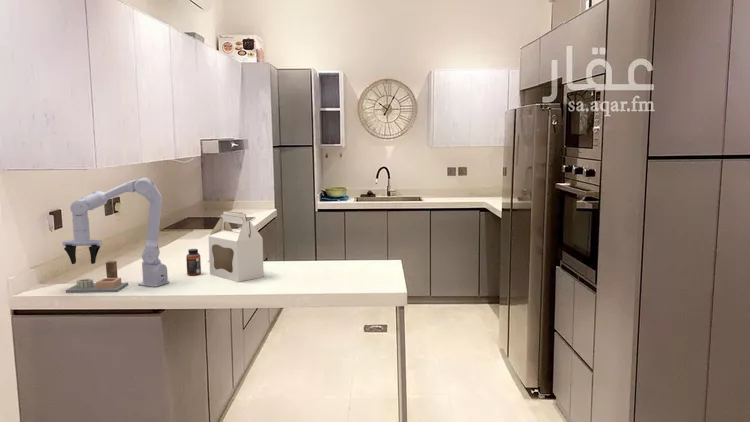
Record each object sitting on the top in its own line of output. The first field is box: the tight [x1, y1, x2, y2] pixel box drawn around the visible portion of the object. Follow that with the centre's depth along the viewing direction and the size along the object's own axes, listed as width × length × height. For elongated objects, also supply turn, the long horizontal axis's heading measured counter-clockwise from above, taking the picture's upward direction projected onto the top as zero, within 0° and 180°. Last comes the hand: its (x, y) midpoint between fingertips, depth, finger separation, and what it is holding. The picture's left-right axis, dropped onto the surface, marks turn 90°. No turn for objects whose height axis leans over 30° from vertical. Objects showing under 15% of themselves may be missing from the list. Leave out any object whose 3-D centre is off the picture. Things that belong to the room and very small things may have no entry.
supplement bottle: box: [185, 248, 202, 277], centre depth 253 cm, size 6×6×11 cm
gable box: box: [208, 210, 265, 283], centre depth 249 cm, size 22×13×28 cm, turn 48°
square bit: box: [105, 260, 119, 278], centre depth 243 cm, size 3×3×8 cm
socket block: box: [65, 277, 129, 294], centre depth 229 cm, size 20×11×4 cm, turn 92°
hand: (83, 263), depth 228 cm, fingers open, 7 cm apart
